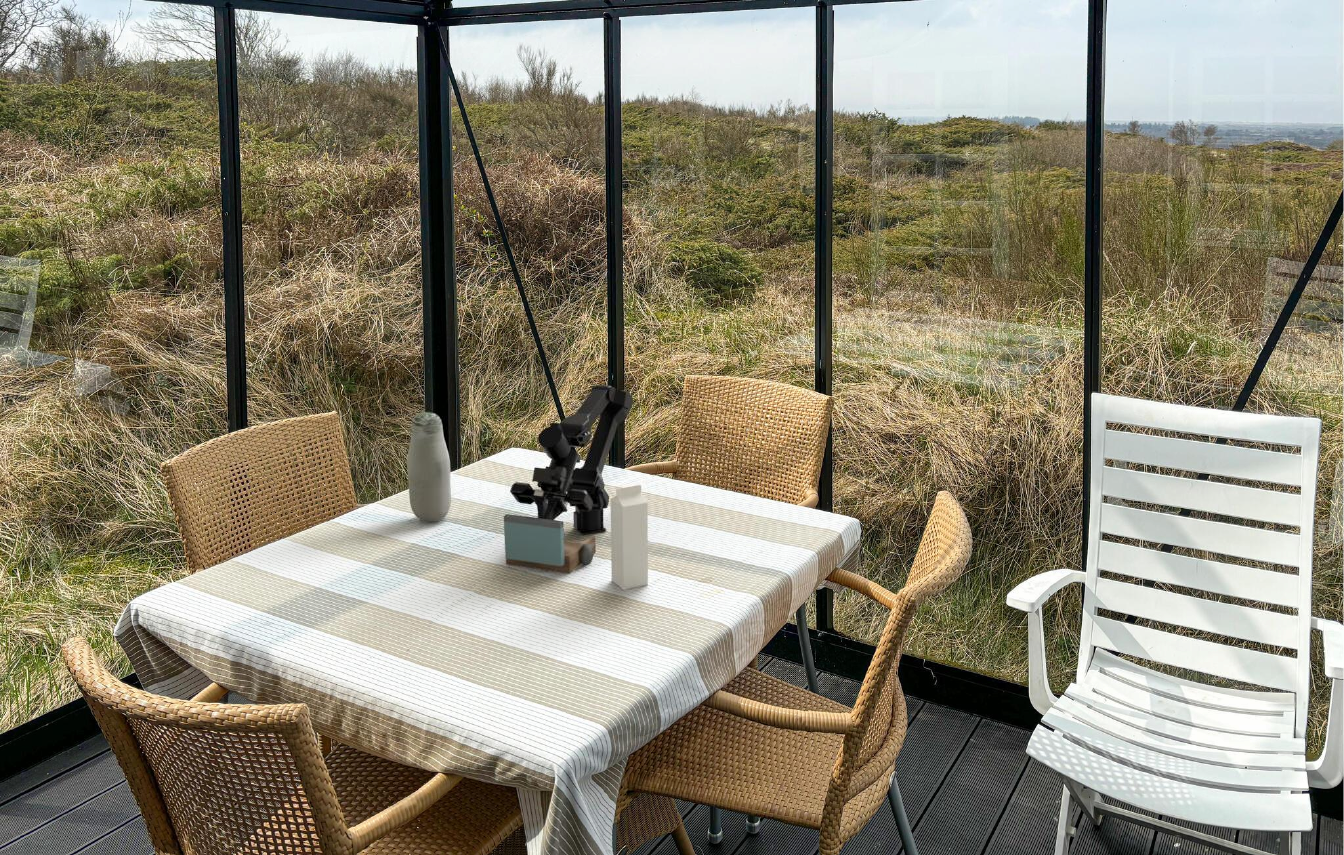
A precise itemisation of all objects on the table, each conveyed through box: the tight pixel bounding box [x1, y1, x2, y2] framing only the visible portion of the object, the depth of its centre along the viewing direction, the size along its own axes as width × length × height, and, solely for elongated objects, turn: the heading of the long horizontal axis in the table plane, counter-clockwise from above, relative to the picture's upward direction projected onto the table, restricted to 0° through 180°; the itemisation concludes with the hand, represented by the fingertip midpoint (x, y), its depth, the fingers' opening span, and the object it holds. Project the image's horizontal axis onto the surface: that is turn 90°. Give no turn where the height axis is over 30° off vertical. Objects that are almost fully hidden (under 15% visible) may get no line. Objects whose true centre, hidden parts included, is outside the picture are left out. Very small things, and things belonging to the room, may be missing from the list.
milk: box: [610, 484, 649, 591], centre depth 249 cm, size 6×6×22 cm
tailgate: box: [503, 513, 565, 566], centre depth 257 cm, size 2×14×10 cm, turn 69°
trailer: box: [505, 535, 597, 575], centre depth 265 cm, size 14×19×4 cm
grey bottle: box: [406, 411, 452, 523], centre depth 288 cm, size 10×10×28 cm
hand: (540, 529), depth 259 cm, fingers closed
